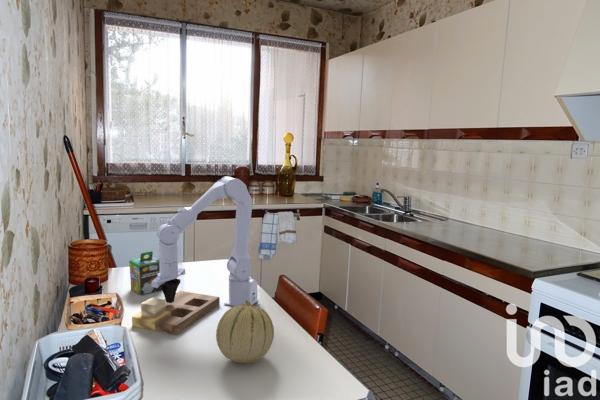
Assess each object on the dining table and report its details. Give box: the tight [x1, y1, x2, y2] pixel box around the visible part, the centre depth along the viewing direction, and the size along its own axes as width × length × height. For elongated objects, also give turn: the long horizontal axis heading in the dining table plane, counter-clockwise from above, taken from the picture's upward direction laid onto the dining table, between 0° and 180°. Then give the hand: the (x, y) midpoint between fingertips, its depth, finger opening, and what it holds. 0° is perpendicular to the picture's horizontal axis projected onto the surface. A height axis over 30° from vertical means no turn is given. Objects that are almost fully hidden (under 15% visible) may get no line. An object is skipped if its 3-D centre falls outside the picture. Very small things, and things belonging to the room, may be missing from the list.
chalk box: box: [128, 251, 162, 296], centre depth 159 cm, size 9×9×15 cm
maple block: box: [140, 297, 166, 318], centre depth 130 cm, size 5×5×4 cm
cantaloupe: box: [215, 301, 275, 364], centre depth 109 cm, size 15×15×15 cm
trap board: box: [131, 290, 221, 336], centre depth 137 cm, size 16×24×3 cm, turn 160°
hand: (170, 301), depth 138 cm, fingers closed
